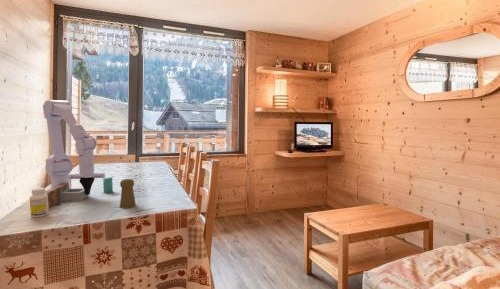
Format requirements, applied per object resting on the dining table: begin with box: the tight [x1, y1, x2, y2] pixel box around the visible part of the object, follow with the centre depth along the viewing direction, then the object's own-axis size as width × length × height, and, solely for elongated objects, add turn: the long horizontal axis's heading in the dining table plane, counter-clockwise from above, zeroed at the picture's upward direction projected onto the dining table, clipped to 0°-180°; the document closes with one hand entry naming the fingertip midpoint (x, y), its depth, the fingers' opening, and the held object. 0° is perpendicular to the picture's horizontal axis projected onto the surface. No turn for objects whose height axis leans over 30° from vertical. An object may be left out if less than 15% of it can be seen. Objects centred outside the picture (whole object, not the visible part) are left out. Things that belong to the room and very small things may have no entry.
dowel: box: [102, 176, 114, 194], centre depth 142 cm, size 4×4×7 cm
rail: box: [45, 183, 69, 209], centre depth 124 cm, size 22×2×6 cm, turn 12°
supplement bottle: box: [29, 187, 50, 218], centre depth 106 cm, size 5×5×10 cm
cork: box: [119, 178, 137, 209], centre depth 118 cm, size 6×6×11 cm
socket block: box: [59, 187, 89, 202], centre depth 130 cm, size 9×9×4 cm
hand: (87, 194), depth 132 cm, fingers closed
